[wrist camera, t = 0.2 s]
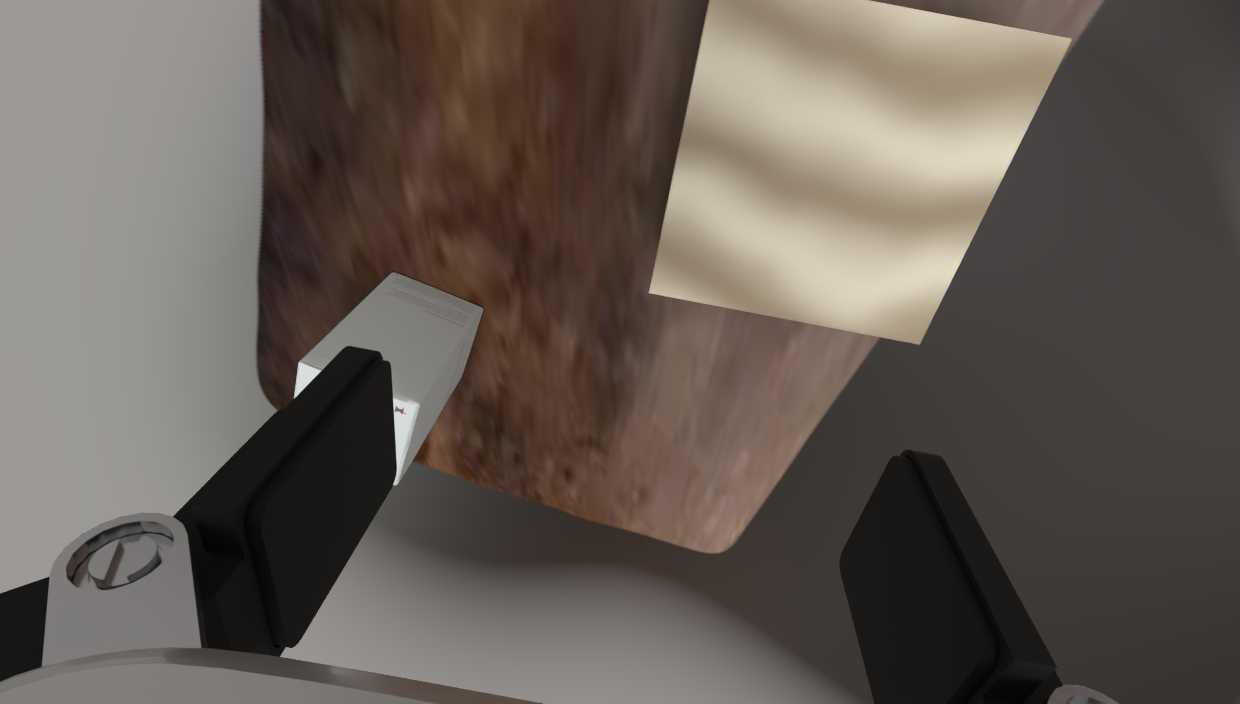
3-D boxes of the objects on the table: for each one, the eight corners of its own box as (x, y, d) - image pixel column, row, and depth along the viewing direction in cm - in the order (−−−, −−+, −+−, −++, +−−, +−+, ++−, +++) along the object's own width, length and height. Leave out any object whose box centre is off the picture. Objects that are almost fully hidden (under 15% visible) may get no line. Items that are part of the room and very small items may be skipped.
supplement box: (391, 267, 44) (296, 357, 33) (486, 307, 45) (423, 406, 34) (373, 345, 48) (282, 448, 37) (461, 380, 49) (397, 490, 38)
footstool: (710, -26, 33) (715, -29, 26) (997, 29, 33) (1072, 38, 26) (655, 245, 41) (649, 293, 35) (883, 289, 41) (919, 344, 35)
